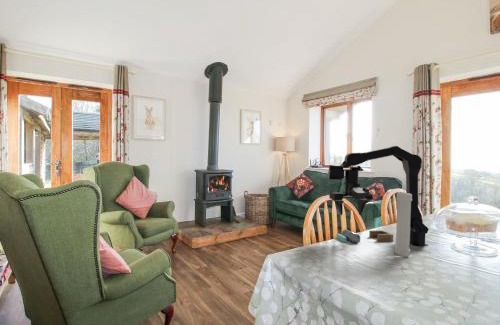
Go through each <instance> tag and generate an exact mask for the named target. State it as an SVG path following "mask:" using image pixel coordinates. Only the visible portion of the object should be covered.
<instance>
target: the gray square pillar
mask: <svg viewBox="0 0 500 325" xmlns="http://www.w3.org/2000/svg"><path fill="white" fill-rule="evenodd" d="M395 180H396V181H398V183H400V184H401V186H402V188H403V192H397V193H396V202H397V206H396V230H395V231H396V234H395V236H396V237H395V246H394V253H395V254H396V255H398V256H400V257H403V258H408V257H410V255H411V249H410V244H409V243H410V215H411V201H412V194H410V193H406V192H405V191H406V190H405V188H404V185H403V184H402V182H401V181H399V180H398V179H397V178H395Z"/></svg>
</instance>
